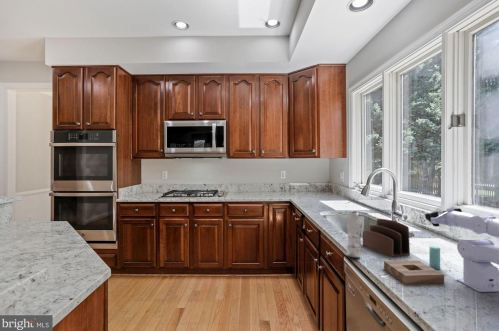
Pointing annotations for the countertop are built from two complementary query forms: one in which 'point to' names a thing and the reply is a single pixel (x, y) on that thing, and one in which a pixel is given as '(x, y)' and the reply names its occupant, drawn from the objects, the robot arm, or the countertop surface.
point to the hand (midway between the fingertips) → (434, 215)
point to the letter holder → (388, 238)
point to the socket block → (413, 272)
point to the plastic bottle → (354, 236)
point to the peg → (434, 257)
